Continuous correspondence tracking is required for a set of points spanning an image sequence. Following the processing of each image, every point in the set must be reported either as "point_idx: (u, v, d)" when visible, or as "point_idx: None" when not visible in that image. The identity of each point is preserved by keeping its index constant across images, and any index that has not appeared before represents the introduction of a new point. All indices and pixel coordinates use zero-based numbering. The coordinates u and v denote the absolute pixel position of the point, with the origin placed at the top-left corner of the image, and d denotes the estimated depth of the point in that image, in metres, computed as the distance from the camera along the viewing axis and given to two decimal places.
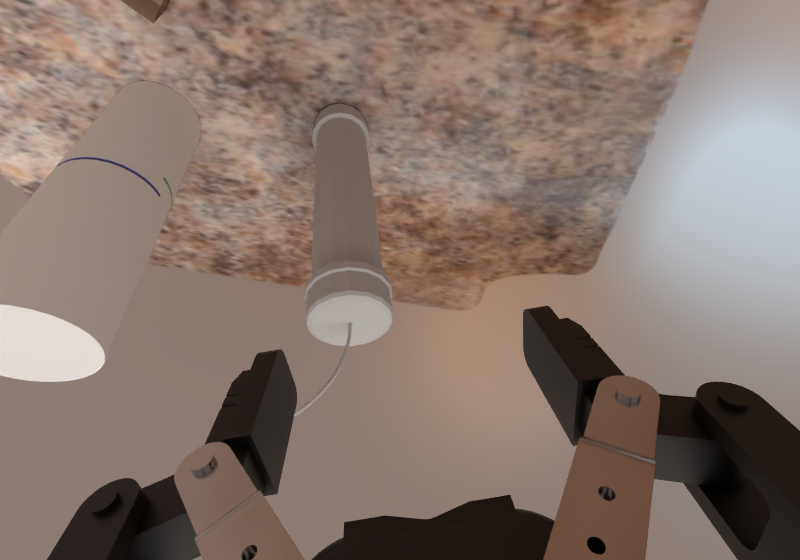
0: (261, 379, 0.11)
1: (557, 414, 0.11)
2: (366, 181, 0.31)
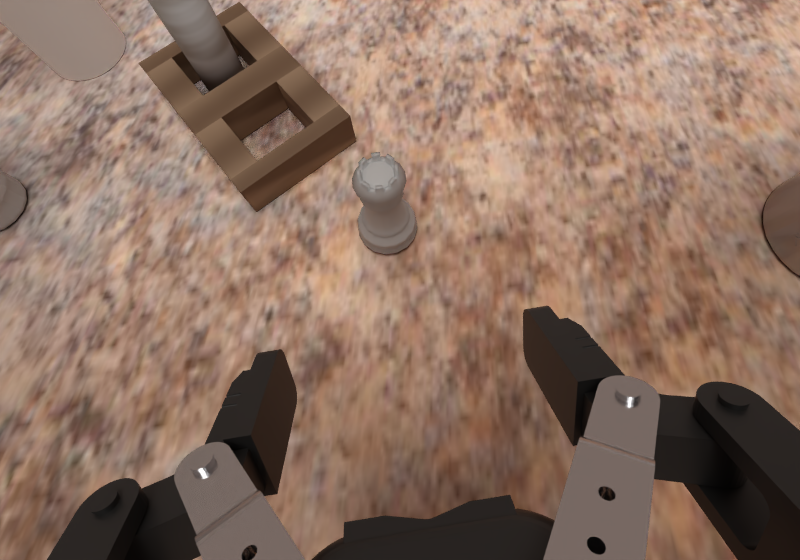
0: (261, 379, 0.11)
1: (556, 414, 0.11)
2: None
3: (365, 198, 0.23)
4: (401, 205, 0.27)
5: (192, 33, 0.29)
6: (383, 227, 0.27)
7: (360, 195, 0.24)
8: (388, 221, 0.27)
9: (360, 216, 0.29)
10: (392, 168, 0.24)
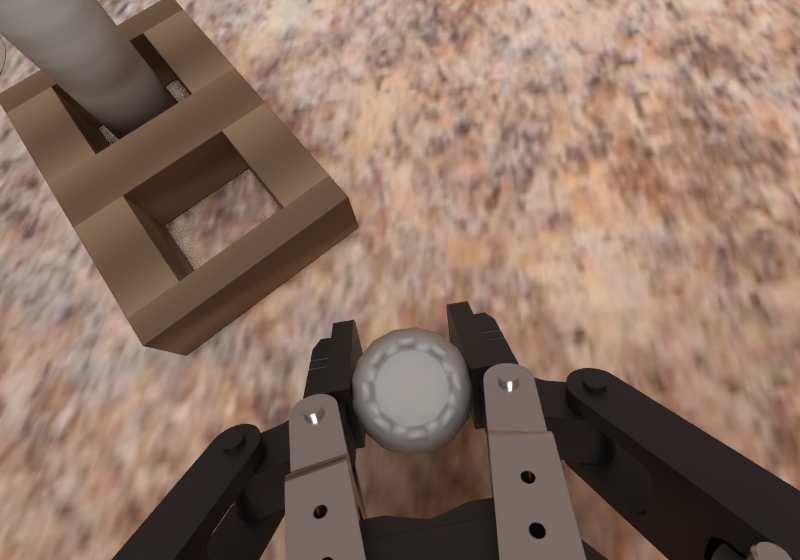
0: (344, 344, 0.12)
1: None
2: None
3: (381, 441, 0.10)
4: None
5: (55, 50, 0.15)
6: None
7: (369, 432, 0.10)
8: None
9: None
10: (444, 371, 0.10)
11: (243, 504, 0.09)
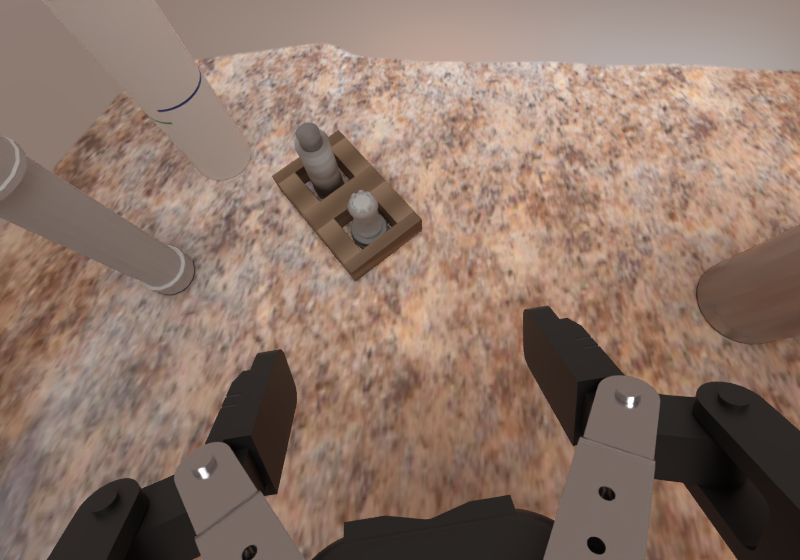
0: (261, 379, 0.11)
1: (556, 414, 0.11)
2: (106, 254, 0.36)
3: (354, 216, 0.41)
4: (377, 219, 0.44)
5: (321, 168, 0.43)
6: (366, 232, 0.45)
7: (351, 214, 0.41)
8: (369, 228, 0.44)
9: (352, 225, 0.47)
10: (370, 199, 0.41)
11: None
